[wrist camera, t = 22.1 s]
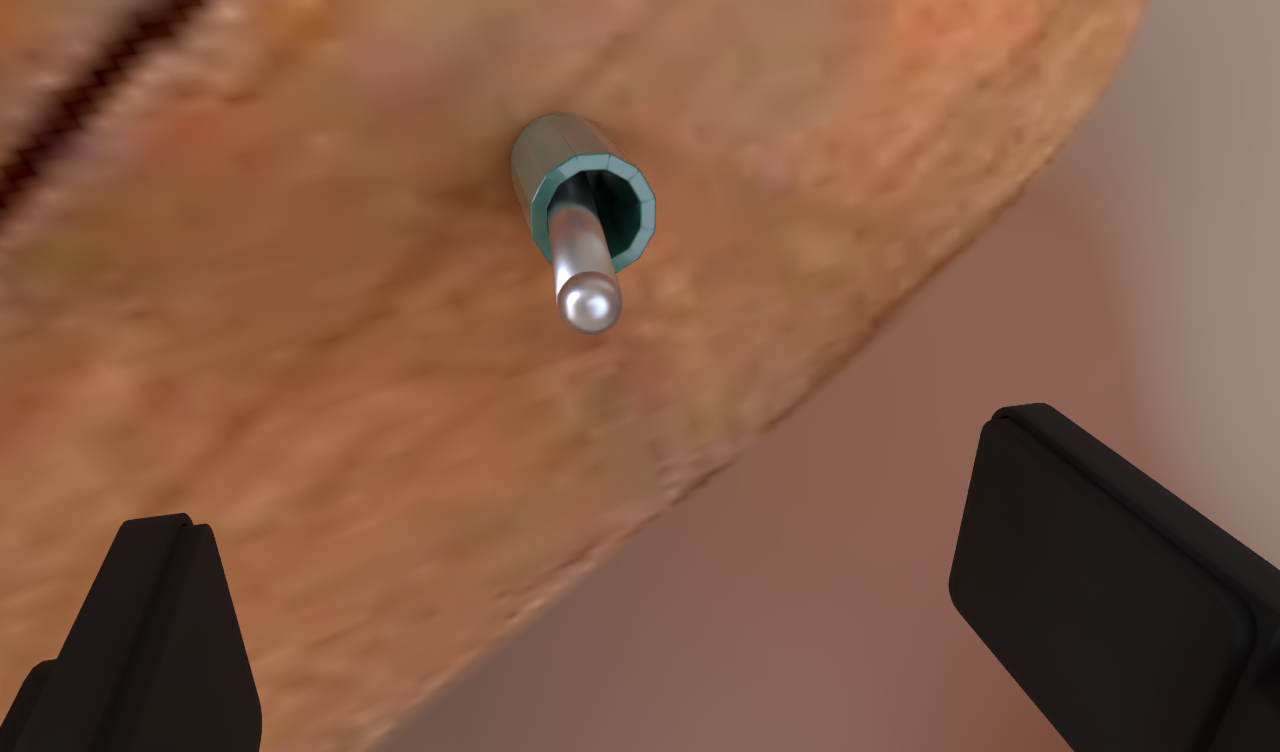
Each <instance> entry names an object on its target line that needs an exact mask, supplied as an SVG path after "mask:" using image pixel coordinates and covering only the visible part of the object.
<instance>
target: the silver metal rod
mask: <svg viewBox="0 0 1280 752" xmlns="http://www.w3.org/2000/svg"><path fill="white" fill-rule="evenodd" d="M547 217H548V226H549V236H550V245H551V255H552V264H553V274H554V283H555V293H556V302H557V309H558V313H559V315H560V318H561V319H562V321H563V322H564V323H565V324H566V325H567V326H568V327H569V328H570V329H572V330H573V331H575V332H577V333H579V334H583V335H597V334H600V333H603V332H605V331H607V330H608V329H610V328H611V327H612V326H613V325H614V324H615V323H616V321H617V320H618V318H619V316H620V314H621V311H622V294H621V290H620V287H619V284H618V280H617V277H616V273H615V270H614V267H613V263H612V260H611V256H610V253H609V250H608V246H607V243H606V239H605V236H604V233H603V229H602V226H601V222H600V219H599V216H598V212H597V209H596V206H595V202H594V199H593V195H592V192H591V189H590V185H589V182H588V178H587V175H586V172H585V171H580V172H579V173H577V174H576V175H574V176H572V177H571V178H569V179H568V180H566V181H565V182H563V183H562V184H560V185H559V186H558V188H557V190H556V192H555V194H554V196H553V197H552V199H551V201H550V203H549V205H548V207H547Z"/></svg>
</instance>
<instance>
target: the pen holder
mask: <svg viewBox="0 0 1280 752" xmlns="http://www.w3.org/2000/svg"><path fill="white" fill-rule="evenodd" d="M510 169H511V176H512V184H513V187H514V190H515V192H516V195H517V198H518V201H519V203H520V206H521V209H522V211H523V214H524V217H525V220H526V222H527V225H528V228H529V230H530V233H531V236H532V239H533V241H534V242H535V243H536V245H537V246H538V248H539V249H540V251H541V252H542V254H543V255H544V257H545V258H546V260H547V261H548V263H549V264H551V265H552V266H553V264H552V255H551V245H550V236H549V226H548V217H547V207H548V205H549V203H550V201H551V199H552V197H553V196H554V194H555V192H556V190H557V188H558V186H559V185H560V184H562V183H563V182H565V181H566V180H568V179H569V178H571V177H572V176H574V175H576V174H577V173H579V172H580V171H585V172H586V175H587V178H588V182H589V185H590V189H591V192H592V195H593V199H594V202H595V206H596V209H597V212H598V216H599V219H600V222H601V226H602V229H603V233H604V236H605V239H606V243H607V246H608V250H609V253H610V256H611V260H612V263H613V267H614V270H615V273H617V272H619V271H620V270H622V269H624V268H625V267H627V266H628V265H630V264H631V263H633V262H635V261H636V260H638V259H639V258H640V257H641V255H642V253H643V251H644V249H645V248H646V246H647V244H648V242H649V241H650V239H651V237H652V235H653V234H654V232H655V228H656V198H655V195H654V193H653V191H652V189H651V188H650V186H649V184H648V182H647V181H646V179H645V177H644V175H643V174H642V172H641V170H640V169H639V168H638V167H637V166H636V165H635V164H634V163H633V162H632V161H631V160H630V159H629V158H628V157H627V156H626V155H625V154H624V153H623V152H622V150H621V149H620V148H619V147H618V146H617V145H616V144H615V143H614V142H613V141H612V140H611V139H610V138H609V137H608V136H607V135H606V134H605V133H604V132H603V131H602V130H601V129H600V128H599V127H598V126H596V125H594V124H593V123H592V122H590V121H589V120H587V119H585V118H583V117H581V116H578V115H575V114H570V113H553V114H549V115H545V116H543V117H540V118H538V119H537V120H535V121H533V122H532V123H531V124H529V125H528V126H527V127H526V128H525V129H524V130H523V131H522V133H521V134H520V135H519V137H518V138H517V140H516V142H515V144H514V147H513V150H512V154H511V160H510Z"/></svg>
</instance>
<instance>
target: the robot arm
mask: <svg viewBox="0 0 1280 752" xmlns="http://www.w3.org/2000/svg"><path fill="white" fill-rule="evenodd" d="M949 593H950V596H951V600H952V602H953V604H954V606H955V607H956V609H957V611H958V612H959V613H960V614H961V615H962V616H963V618H964V619H965V620H966V621H967V623H968V624H969V625H970V626H971V627H972V629H973V630H974V631H975V632H976V633H977V635H978V636H979V637H980V638H981V639H982V641H983V642H984V643H985V644H986V645H987V647H988V648H989V649H990V650H991V652H992V653H993V654H994V655H995V656H996V657H997V659H998V660H999V661H1000V662H1001V664H1002V665H1003V666H1004V667H1005V668H1006V670H1007V671H1008V672H1009V673H1010V674H1011V676H1012V677H1013V678H1014V679H1015V681H1016V682H1017V683H1018V684H1019V685H1020V687H1021V688H1022V689H1023V690H1024V691H1025V693H1026V694H1027V695H1028V696H1029V697H1030V699H1031V700H1032V701H1033V702H1034V703H1035V705H1036V706H1037V707H1038V708H1039V709H1040V711H1041V712H1042V713H1043V714H1044V715H1045V716H1046V718H1047V719H1048V720H1049V721H1050V723H1051V724H1052V725H1053V726H1054V728H1055V729H1056V730H1057V731H1058V732H1059V734H1060V735H1061V736H1062V737H1063V738H1064V740H1065V741H1066V742H1067V743H1068V744H1069V746H1070V747H1071V748H1072V749H1073V751H1074V752H1280V570H1279V569H1277V568H1276V567H1274V566H1273V565H1272V564H1270V563H1269V562H1268V561H1266V560H1265V559H1263V558H1262V557H1261V556H1259V555H1258V554H1256V553H1255V552H1254V551H1252V550H1251V549H1249V548H1248V547H1246V546H1245V545H1244V544H1242V543H1241V542H1240V541H1238V540H1237V539H1235V538H1234V537H1233V536H1231V535H1230V534H1228V533H1227V532H1226V531H1224V530H1223V529H1222V528H1220V527H1219V526H1217V525H1216V524H1215V523H1213V522H1212V521H1210V520H1209V519H1208V518H1206V517H1205V516H1203V515H1202V514H1201V513H1199V512H1198V511H1196V510H1195V509H1194V508H1192V507H1191V506H1190V505H1188V504H1186V503H1185V502H1184V501H1183V500H1181V499H1180V498H1178V497H1177V496H1176V495H1174V494H1173V493H1171V492H1170V491H1169V490H1167V489H1166V488H1164V487H1163V486H1162V485H1160V484H1159V483H1157V482H1156V481H1155V480H1153V479H1152V478H1150V477H1149V476H1148V475H1146V474H1145V473H1144V472H1142V471H1141V470H1139V469H1138V468H1136V467H1135V466H1134V465H1132V464H1131V463H1130V462H1128V461H1127V460H1125V459H1124V458H1123V457H1121V456H1120V455H1118V454H1117V453H1116V452H1114V451H1113V450H1111V449H1110V448H1109V447H1107V446H1106V445H1104V444H1103V443H1102V442H1100V441H1099V440H1097V439H1096V438H1095V437H1093V436H1092V435H1091V434H1089V433H1088V432H1086V431H1085V430H1084V429H1082V428H1081V427H1079V426H1078V425H1077V424H1075V423H1074V422H1072V421H1071V420H1070V419H1068V418H1067V417H1066V416H1064V415H1063V414H1061V413H1060V412H1058V411H1057V410H1055V409H1054V408H1053V407H1052V406H1050V405H1047V404H1045V403H1033V404H1026V405H1018V406H1010V407H1003V408H1001V409H999V410H997V411H996V412H995V413H994V415H993V416H992V419H991V420H990V421H988V422H986V423H985V425H984V426H983V428H982V431H981V435H980V440H979V444H978V449H977V453H976V458H975V462H974V467H973V472H972V476H971V482H970V485H969V490H968V495H967V500H966V504H965V508H964V513H963V518H962V522H961V527H960V531H959V536H958V541H957V545H956V550H955V555H954V559H953V564H952V568H951V573H950V577H949ZM261 734H262V713H261V706H260V701H259V697H258V694H257V690H256V686H255V683H254V679H253V675H252V672H251V668H250V664H249V661H248V657H247V654H246V650H245V646H244V643H243V639H242V635H241V632H240V628H239V624H238V621H237V617H236V614H235V610H234V606H233V603H232V599H231V595H230V592H229V588H228V584H227V581H226V577H225V574H224V570H223V566H222V563H221V559H220V555H219V552H218V548H217V544H216V541H215V537H214V534H213V531H212V529H211V527H210V526H209V525H208V524H200V525H193V523H192V520H191V519H190V517H189V516H188V515H187V514H185V513H179V514H171V515H164V516H156V517H148V518H140V519H133V520H127V521H125V522H124V523H123V524H122V525H121V527H120V528H119V531H118V533H117V535H116V537H115V539H114V541H113V543H112V545H111V547H110V549H109V551H108V553H107V556H106V558H105V560H104V562H103V564H102V566H101V568H100V570H99V572H98V574H97V576H96V578H95V581H94V583H93V585H92V587H91V589H90V591H89V593H88V595H87V597H86V599H85V601H84V603H83V606H82V608H81V610H80V612H79V614H78V616H77V618H76V620H75V622H74V624H73V626H72V628H71V631H70V633H69V635H68V637H67V639H66V641H65V643H64V645H63V647H62V649H61V651H60V653H59V656H58V658H57V659H54V660H47V661H42V662H41V663H39V664H38V665H36V666H35V667H33V669H32V670H31V672H30V673H29V674H28V676H27V677H26V679H25V680H24V682H23V684H22V686H21V688H20V690H19V692H18V694H17V696H16V698H15V700H14V702H13V704H12V706H11V708H10V710H9V711H8V713H7V715H6V717H5V719H4V721H3V723H2V725H1V727H0V752H259V747H260V742H261Z"/></svg>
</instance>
